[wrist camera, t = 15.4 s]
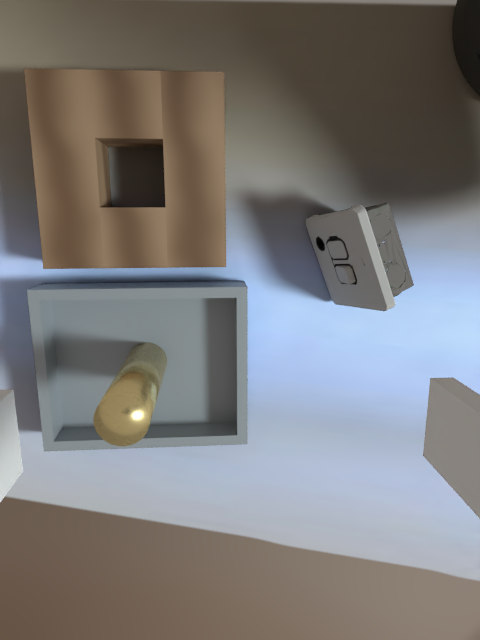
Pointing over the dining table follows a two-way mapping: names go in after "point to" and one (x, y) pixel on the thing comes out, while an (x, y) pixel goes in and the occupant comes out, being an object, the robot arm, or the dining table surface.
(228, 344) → the tray
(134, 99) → the block
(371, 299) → the electrical switch
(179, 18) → the dining table surface
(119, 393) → the pin
